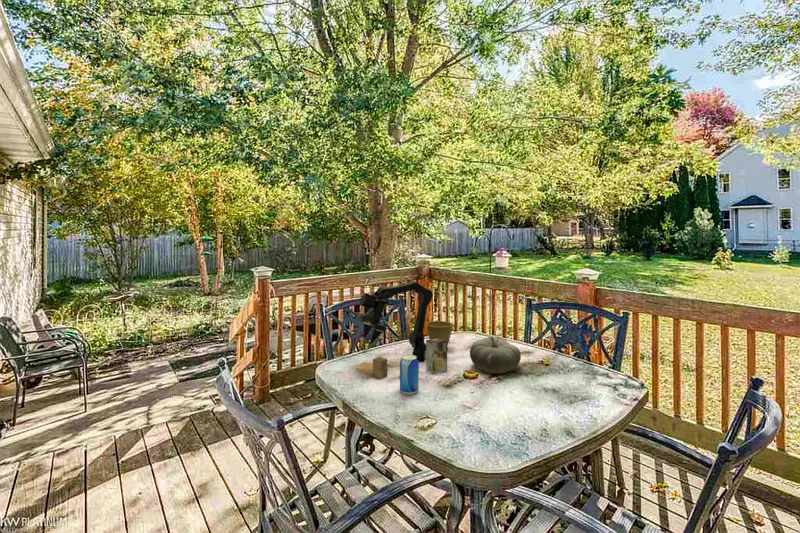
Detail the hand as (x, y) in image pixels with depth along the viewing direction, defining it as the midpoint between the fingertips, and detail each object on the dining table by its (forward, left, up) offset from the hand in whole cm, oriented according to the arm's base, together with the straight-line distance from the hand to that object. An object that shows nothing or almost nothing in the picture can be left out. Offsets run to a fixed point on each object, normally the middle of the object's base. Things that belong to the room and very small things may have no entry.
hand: (367, 340), depth 212 cm
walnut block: (-10, +7, -16) cm, 20 cm away
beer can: (-29, +19, -16) cm, 38 cm away
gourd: (-62, -23, -16) cm, 68 cm away
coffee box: (-34, -10, -16) cm, 39 cm away
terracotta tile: (0, +1, -16) cm, 16 cm away
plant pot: (-27, -43, -16) cm, 53 cm away
